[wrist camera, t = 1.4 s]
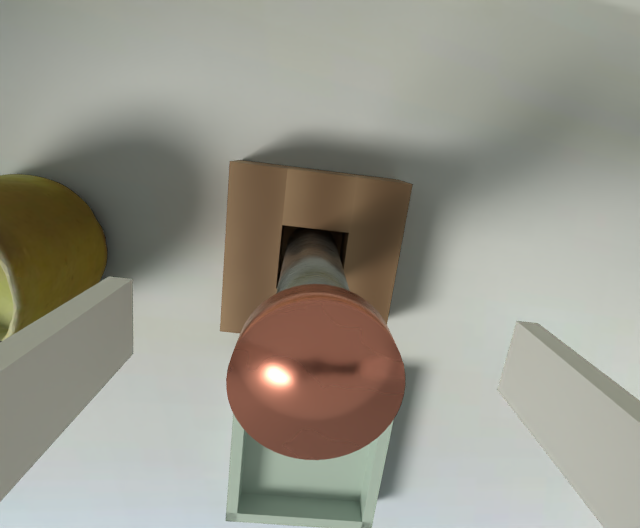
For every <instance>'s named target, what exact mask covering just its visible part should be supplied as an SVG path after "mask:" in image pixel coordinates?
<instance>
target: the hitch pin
mask: <svg viewBox="0 0 640 528" xmlns="http://www.w3.org/2000/svg"><path fill="white" fill-rule="evenodd" d="M226 382H227V395H228V400H229V403H230V406H231V409H232V411H233V413H234V415H235V417H236V419H237V421H238V422H239V424H240V425H241V427H242V428H243V429H244V430H245V431H246V432H247V433H248V434H249V435H250V436H251V437H252V438H253V439H254V440H256V441H257V442H258V443H260V444H261V445H263V446H264V447H266V448H268V449H270V450H272V451H274V452H276V453H279V454H281V455H284V456H288V457H292V458H296V459H304V460H325V459H332V458H337V457H341V456H344V455H348V454H350V453H353V452H355V451H357V450H360V449H361V448H363V447H365V446H367V445H368V444H370V443H371V442H372V441H374V440H375V439H376V438H378V437H379V436H380V435H381V434H382V433H383V432H384V431H385V430H386V429H387V427H388V426H389V425H390V424H391V423H392V421H393V419H394V418H395V416H396V415H397V413H398V410H399V408H400V406H401V403H402V400H403V396H404V390H405V370H404V364H403V361H402V358H401V355H400V353H399V350H398V348H397V346H396V344H395V342H394V339H393V337H392V335H391V333H390V331H389V329H388V327H387V325H386V323H385V321H384V319H383V318H382V316H381V315H380V313H379V312H378V311H377V310H376V309H375V308H374V307H373V306H372V305H371V304H370V303H369V302H367V301H366V300H365V299H364V298H362V297H360V296H359V295H357V294H355V293H353V292H351V291H350V290H349V287H348V283H347V280H346V277H345V273H344V270H343V267H342V263H341V260H340V257H339V254H338V250H337V247H336V244H335V241H334V238H333V236H332V235H331V233H330V232H329V231H328V230H321V229H312V228H303V227H299V228H298V229H296V230H295V231H294V232H293V233H292V234H291V236H290V237H289V240H288V243H287V247H286V251H285V256H284V260H283V265H282V269H281V274H280V278H279V283H278V287H277V292H276V294H275V295H273V296H271V297H270V298H268V299H267V300H265V301H264V302H263V303H262V304H260V305H259V306H258V307H257V308H256V309H255V310H254V311H253V313H252V314H251V315H250V316H249V318H248V319H247V321H246V322H245V324H244V326H243V328H242V330H241V333H240V335H239V338H238V341H237V343H236V346H235V349H234V351H233V354H232V357H231V360H230V363H229V366H228V371H227V378H226Z"/></svg>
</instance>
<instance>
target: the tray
mask: <svg viewBox="0 0 640 528" xmlns="http://www.w3.org/2000/svg"><path fill="white" fill-rule="evenodd" d="M393 420H394V419H393ZM392 425H393V421H392V423H391V424H390V425H389V426H388V427H387V429H386V430H385V431H384V432H383V433H382V434H381V435H380V436H379V437H378V438H376V439H375V440H374V441H372V442H371V443H370V444H368V445H367V446H365V447H363V448H361V449H360V450H357V451H355V452H353V453H350V454H348V455H344V456H341V457H337V458H332V459H325V460H304V459H296V458H292V457H288V456H284V455H281V454H279V453H276V452H274V451H272V450H270V449H268V448H266V447H264V446H263V445H261V444H260V443H258V442H257V441H256V440H254V439H253V438H252V437H251V436H250V435H249V434H248V433H247V432H246V431H245V430H244V429H243V428H242V427H241V425H240V424H239V422H238V421H237V419H236V417H235V415H234V413H233V425H232V439H231V453H230V467H229V481H228V495H227V509H226V521H233V522H248V523H263V524H277V525H292V526H307V527H322V528H372V523H373V518H374V513H375V508H376V503H377V499H378V494H379V489H380V484H381V479H382V474H383V469H384V464H385V459H386V455H387V450H388V445H389V440H390V435H391V430H392Z"/></svg>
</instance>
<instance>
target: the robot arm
mask: <svg viewBox="0 0 640 528" xmlns="http://www.w3.org/2000/svg"><path fill="white" fill-rule="evenodd" d="M132 354H133V279H128V278H119V277H107V278H106V279H104V280H102V281H101V282H99V283H97V284H96V285H94V286H92V287H91V288H89V289H87V290H86V291H84V292H83V293H81V294H79V295H78V296H76V297H74V298H73V299H71V300H69V301H68V302H66V303H64V304H63V305H61V306H59V307H58V308H56V309H54V310H53V311H51V312H50V313H48V314H46V315H45V316H43V317H41V318H40V319H38V320H36V321H35V322H33V323H31V324H30V325H28V326H26V327H25V328H23V329H22V330H20V331H18V332H17V333H15V334H13V335H12V336H10V337H8V338H7V339H5V340H3V341H0V501H1V500H2V499H3V498H4V497H5V496H6V495H7V494H8V493H9V491H10V490H11V489H12V488H13V487H14V486H15V485H16V484H17V483H18V481H19V480H20V479H21V478H22V477H23V476H24V475H25V474H26V472H27V471H28V470H29V469H30V468H31V467H32V466H33V465H34V464H35V462H36V461H37V460H38V459H39V458H40V457H41V456H42V455H43V454H44V452H45V451H46V450H47V449H48V448H49V447H50V446H51V445H52V443H53V442H54V441H55V440H56V439H57V438H58V437H59V436H60V435H61V433H62V432H63V431H64V430H65V429H66V428H67V427H68V426H69V425H70V423H71V422H72V421H73V420H74V419H75V418H76V417H77V416H78V415H79V413H80V412H81V411H82V410H83V409H84V408H85V407H86V406H87V404H88V403H89V402H90V401H91V400H92V399H93V398H94V397H95V396H96V394H97V393H98V392H99V391H100V390H101V389H102V388H103V387H104V386H105V384H106V383H107V382H108V381H109V380H110V379H111V378H112V377H113V375H114V374H115V373H116V372H117V371H118V370H119V369H120V368H121V367H122V365H123V364H124V363H125V362H126V361H127V360H128V359H129V358H130V357H131V355H132ZM497 390H498V392H499V393H500V394H501V395H502V397H503V398H504V399H505V401H506V402H507V403H508V404H509V406H510V407H511V408H512V410H513V411H514V412H515V414H516V415H517V416H518V417H519V419H520V420H521V421H522V423H523V424H524V425H525V426H526V428H527V429H528V430H529V432H530V433H531V434H532V436H533V437H534V438H535V439H536V441H537V442H538V443H539V445H540V446H541V447H542V448H543V450H544V451H545V452H546V454H547V455H548V456H549V457H550V459H551V460H552V461H553V463H554V464H555V465H556V467H557V468H558V469H559V470H560V472H561V473H562V474H563V476H564V477H565V478H566V479H567V481H568V482H569V483H570V485H571V486H572V487H573V489H574V490H575V491H576V492H577V494H578V495H579V496H580V498H581V499H582V500H583V501H584V503H585V504H586V505H587V507H588V508H589V509H590V511H591V512H592V513H593V514H594V516H595V517H596V518H597V520H598V521H599V522H600V523H601V525H602V526H603V527H604V528H640V401H639V400H638V399H637V398H635V397H634V396H633V395H631V394H630V393H629V392H628V391H626V390H625V389H624V388H622V387H621V386H620V385H618V384H617V383H616V382H614V381H613V380H612V379H610V378H609V377H608V376H607V375H605V374H604V373H603V372H601V371H600V370H599V369H597V368H596V367H595V366H593V365H592V364H591V363H589V362H588V361H587V360H586V359H584V358H583V357H582V356H580V355H579V354H578V353H576V352H575V351H574V350H572V349H571V348H570V347H568V346H567V345H566V344H565V343H563V342H562V341H561V340H559V339H558V338H557V337H555V336H554V335H553V334H551V333H550V332H549V331H547V330H546V329H545V328H544V327H542V326H541V325H540V324H538V323H531V322H522V321H516V325H515V328H514V332H513V336H512V339H511V343H510V346H509V350H508V353H507V357H506V360H505V364H504V367H503V371H502V374H501V378H500V381H499V385H498V388H497Z"/></svg>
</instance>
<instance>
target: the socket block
mask: <svg viewBox="0 0 640 528" xmlns="http://www.w3.org/2000/svg"><path fill="white" fill-rule="evenodd" d="M412 185H413V184H410V183H407V182H404V181H401V180H396V179H388V178H380V177H372V176H364V175H356V174H348V173H340V172H332V171H324V170H316V169H308V168H300V167H292V166H284V165H276V164H268V163H260V162H252V161H244V160H237V161H230V166H229V183H228V201H227V218H226V236H225V253H224V271H223V288H222V306H221V323H220V331H222V332H233V333H241V330H242V328H243V326H244V324H245V322H246V321H247V319H248V318H249V316H250V315H251V314H252V313H253V311H254V310H255V309H256V308H257V307H258V306H259V305H260V304H262V303H263V302H264V301H265V300H267V299H268V298H270V297H271V296H273V295H275V294H276V292H277V287H278V283H279V278H280V274H281V269H282V265H283V260H284V256H285V251H286V247H287V243H288V240H289V237H290V236H291V234H292V233H293V232H294V231H295V230H296V229H298V228H299V227H303V228H312V229H321V230H328V231H329V232H330V233H331V235H332V236H333V238H334V241H335V244H336V247H337V250H338V254H339V257H340V260H341V263H342V267H343V270H344V273H345V277H346V280H347V283H348V287H349V290H350V291H351V292H353V293H355V294H357V295H359V296H360V297H362V298H364V299H365V300H366V301H367V302H369V303H370V304H371V305H372V306H373V307H374V308H375V309H376V310H377V311H378V312H379V313H380V315H381V316H382V318H383V319H384V321H385V323H386V325H387V320H388V315H389V309H390V304H391V298H392V293H393V288H394V282H395V277H396V271H397V266H398V261H399V255H400V250H401V244H402V239H403V233H404V228H405V223H406V217H407V212H408V206H409V201H410V195H411V190H412Z"/></svg>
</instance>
